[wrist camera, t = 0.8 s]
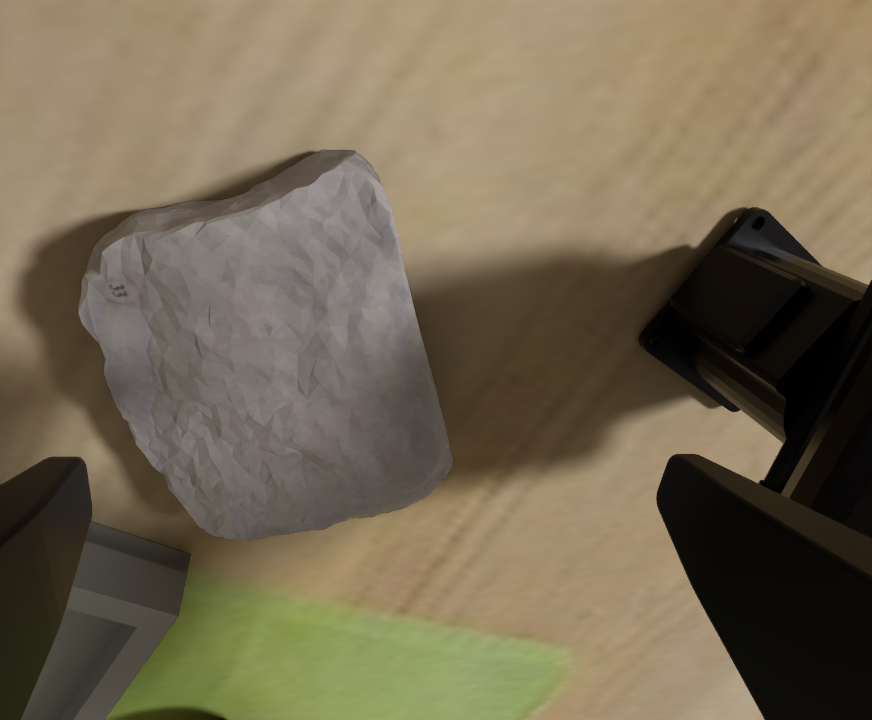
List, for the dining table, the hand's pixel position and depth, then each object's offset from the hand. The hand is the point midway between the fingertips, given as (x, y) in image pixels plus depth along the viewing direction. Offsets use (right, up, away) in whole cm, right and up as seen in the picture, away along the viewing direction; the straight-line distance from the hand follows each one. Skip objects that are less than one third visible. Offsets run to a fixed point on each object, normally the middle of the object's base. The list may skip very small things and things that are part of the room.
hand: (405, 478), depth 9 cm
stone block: (-5, +2, +12) cm, 13 cm away
